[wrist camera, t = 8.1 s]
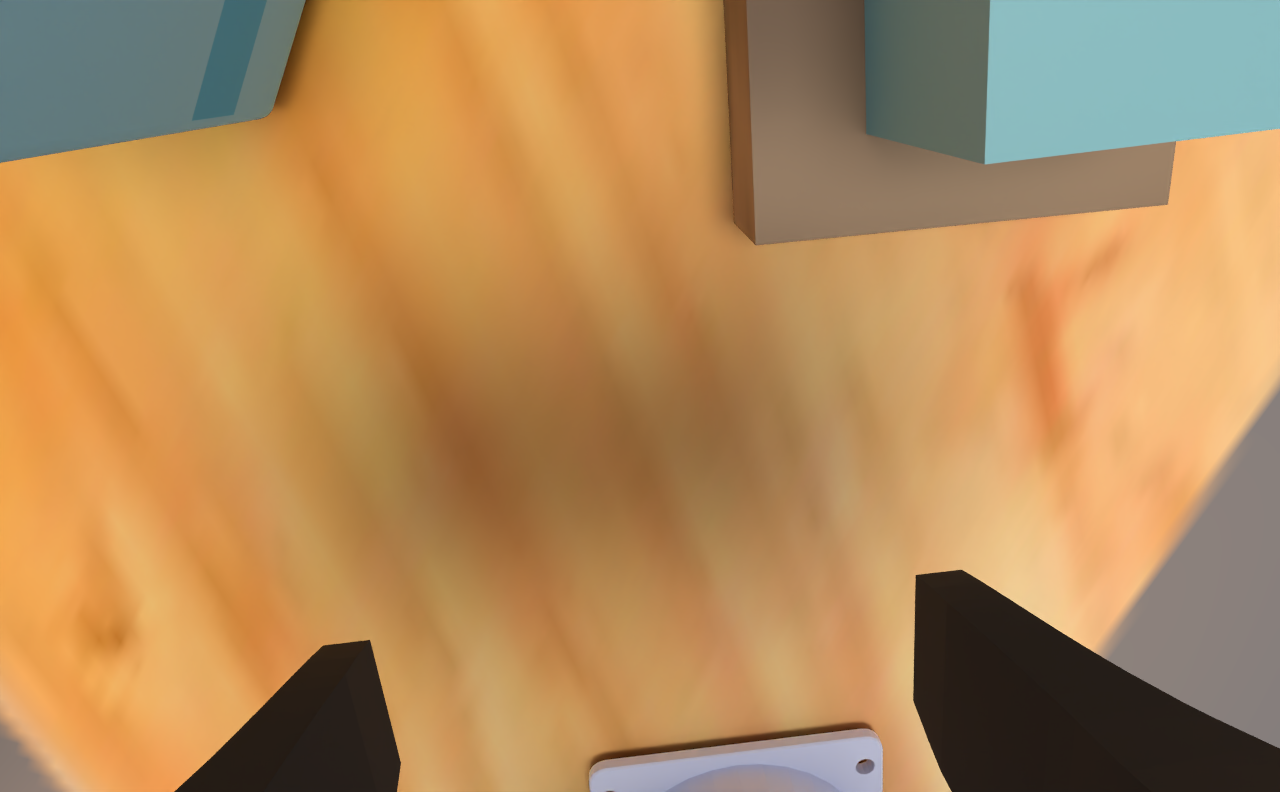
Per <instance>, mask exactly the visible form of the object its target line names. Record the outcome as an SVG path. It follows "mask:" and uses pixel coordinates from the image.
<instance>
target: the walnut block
mask: <svg viewBox="0 0 1280 792" xmlns="http://www.w3.org/2000/svg"><path fill="white" fill-rule="evenodd" d="M724 21H725V42H726V63H727V84H728V105H729V126H730V147H731V169H732V190H733V211H734V223H735V224H736V225H737V226H738V227H739V228H740V229H741V230H742V231H743V232H744V233H745V235H746V236H747V237H748V238H749V239H750V240H751V241H752V242H753V243H754V244H755V245H764V244H774V243H784V242H794V241H804V240H814V239H824V238H835V237H845V236H855V235H865V234H875V233H885V232H895V231H906V230H916V229H926V228H936V227H946V226H956V225H966V224H977V223H987V222H997V221H1007V220H1017V219H1027V218H1037V217H1048V216H1058V215H1068V214H1078V213H1088V212H1098V211H1108V210H1119V209H1129V208H1139V207H1149V206H1159V205H1168V199H1169V191H1170V184H1171V176H1172V168H1173V161H1174V153H1175V145H1176V141H1174V142H1165V143H1157V144H1149V145H1141V146H1133V147H1124V148H1116V149H1108V150H1100V151H1092V152H1083V153H1075V154H1067V155H1059V156H1050V157H1042V158H1034V159H1026V160H1018V161H1009V162H1001V163H993V164H981V163H977V162H973V161H969V160H965V159H961V158H957V157H954V156H950V155H946V154H942V153H938V152H934V151H930V150H926V149H922V148H919V147H915V146H911V145H907V144H903V143H899V142H895V141H891V140H887V139H884V138H880V137H876V136H872V135H868V134H866V76H865V7H864V0H724Z"/></svg>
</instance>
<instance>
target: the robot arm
mask: <svg viewBox="0 0 1280 792" xmlns="http://www.w3.org/2000/svg"><path fill="white" fill-rule="evenodd" d="M913 701H914V704H915V706H916V709H917V711H918V714H919V717H920V719H921V722H922V725H923V727H924V730H925V733H926V735H927V738H928V741H929V743H930V745H931V748H932V750H933V753H934V755H935V758H936V760H937V763H938V765H939V768H940V770H941V772H942V774H943V776H944V778H945V780H946V782H947V784H948V786H949V788H950V789H951V791H952V792H1280V748H1277V747H1275V746H1273V745H1271V744H1269V743H1266V742H1264V741H1262V740H1260V739H1258V738H1256V737H1254V736H1251V735H1249V734H1247V733H1245V732H1243V731H1241V730H1239V729H1237V728H1234V727H1232V726H1230V725H1228V724H1226V723H1224V722H1222V721H1219V720H1217V719H1215V718H1213V717H1211V716H1209V715H1207V714H1205V713H1203V712H1201V711H1199V710H1197V709H1195V708H1193V707H1191V706H1189V705H1187V704H1185V703H1183V702H1181V701H1180V700H1178V699H1176V698H1174V697H1172V696H1170V695H1169V694H1167V693H1165V692H1163V691H1161V690H1159V689H1158V688H1156V687H1154V686H1152V685H1150V684H1148V683H1147V682H1145V681H1143V680H1141V679H1139V678H1137V677H1136V676H1134V675H1132V674H1130V673H1128V672H1127V671H1125V670H1123V669H1121V668H1120V667H1118V666H1116V665H1115V664H1113V663H1111V662H1109V661H1108V660H1106V659H1104V658H1103V657H1101V656H1099V655H1098V654H1096V653H1094V652H1093V651H1091V650H1089V649H1088V648H1086V647H1084V646H1083V645H1081V644H1079V643H1078V642H1076V641H1074V640H1073V639H1071V638H1070V637H1068V636H1066V635H1065V634H1063V633H1062V632H1060V631H1058V630H1057V629H1055V628H1054V627H1052V626H1050V625H1049V624H1047V623H1046V622H1044V621H1042V620H1041V619H1039V618H1038V617H1036V616H1035V615H1033V614H1032V613H1030V612H1028V611H1027V610H1025V609H1024V608H1022V607H1021V606H1019V605H1017V604H1016V603H1014V602H1013V601H1011V600H1010V599H1008V598H1007V597H1005V596H1003V595H1002V594H1000V593H999V592H997V591H996V590H994V589H992V588H991V587H989V586H988V585H986V584H985V583H983V582H981V581H980V580H978V579H976V578H975V577H973V576H971V575H970V574H968V573H966V572H964V571H963V570H956V571H947V572H939V573H930V574H922V575H916V590H915V641H914V693H913ZM864 759H868V760H867V761H866V762H864V763H858V762H859V761H861V760H864ZM400 765H401V762H400V758H399V754H398V750H397V746H396V742H395V738H394V734H393V730H392V726H391V722H390V718H389V714H388V710H387V706H386V702H385V698H384V694H383V690H382V686H381V682H380V678H379V674H378V670H377V666H376V662H375V658H374V654H373V650H372V646H371V642H370V640H367V641H358V642H350V643H342V644H333V645H325V646H322V647H321V648H320V649H319V650H318V651H317V652H316V653H315V654H314V655H313V656H312V657H311V658H310V659H309V660H308V661H307V662H306V663H305V664H304V665H303V666H302V667H301V668H300V669H299V670H298V671H297V672H296V673H295V674H294V675H293V676H292V677H291V678H290V679H289V680H288V681H287V682H286V683H285V684H284V685H283V686H282V687H281V688H280V689H279V690H278V691H277V692H276V693H275V694H274V695H273V696H272V697H271V698H270V699H269V700H268V701H267V702H266V703H265V705H264V706H263V707H262V708H261V709H260V710H259V711H258V712H257V713H256V714H255V715H254V716H253V717H252V718H251V719H250V720H249V721H248V722H247V723H246V724H245V725H244V726H243V727H242V728H241V729H240V730H239V731H238V732H237V733H236V734H235V735H234V736H233V737H232V738H231V739H230V740H229V741H228V742H227V743H226V744H225V745H224V746H223V747H222V748H221V749H220V750H219V751H218V752H217V753H216V754H215V755H214V756H213V757H211V758H210V759H209V760H208V761H207V762H206V763H205V764H204V765H203V766H202V767H201V768H200V769H199V770H197V771H196V772H195V773H194V774H193V775H192V776H191V777H190V778H189V779H188V780H187V781H186V782H184V783H183V784H182V785H181V786H180V787H179V788H178V789H177V790H176V791H175V792H397V787H398V780H399V773H400ZM589 788H590V792H606V791H614V792H883V748H882V744H881V741H880V739H879V737H878V735H877V734H876V733H875V732H874V731H872V730H870V729H853V730H845V731H837V732H829V733H821V734H813V735H805V736H796V737H788V738H780V739H772V740H764V741H756V742H748V743H739V744H731V745H723V746H715V747H707V748H699V749H691V750H682V751H674V752H666V753H658V754H650V755H642V756H634V757H625V758H617V759H609V760H603V761H600V762H598V763H596V764H595V765H593V766H592V768H591V769H590V771H589Z"/></svg>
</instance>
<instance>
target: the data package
mask: <svg viewBox="0 0 1280 792" xmlns="http://www.w3.org/2000/svg"><path fill="white" fill-rule="evenodd" d="M305 1H306V0H0V163H1V162H7V161H13V160H19V159H25V158H31V157H37V156H43V155H49V154H55V153H61V152H67V151H73V150H79V149H84V148H90V147H96V146H102V145H108V144H114V143H120V142H126V141H132V140H138V139H144V138H150V137H156V136H162V135H168V134H174V133H180V132H186V131H191V130H197V129H203V128H209V127H215V126H221V125H227V124H233V123H239V122H245V121H251V120H257V119H261V118H264V117H266V116H267V115H268V114H269V113H270V112H271V111H272V109H273V107H274V103H275V100H276V97H277V93H278V90H279V87H280V84H281V80H282V77H283V74H284V70H285V67H286V64H287V61H288V57H289V54H290V51H291V47H292V44H293V41H294V37H295V34H296V31H297V28H298V24H299V21H300V18H301V14H302V11H303V8H304V4H305Z"/></svg>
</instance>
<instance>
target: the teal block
mask: <svg viewBox="0 0 1280 792" xmlns="http://www.w3.org/2000/svg"><path fill="white" fill-rule="evenodd" d="M864 7H865V76H866V134H868V135H872V136H876V137H880V138H884V139H887V140H891V141H895V142H899V143H903V144H907V145H911V146H915V147H919V148H922V149H926V150H930V151H934V152H938V153H942V154H946V155H950V156H954V157H957V158H961V159H965V160H969V161H973V162H977V163H981V164H993V163H1001V162H1009V161H1018V160H1026V159H1034V158H1042V157H1050V156H1059V155H1067V154H1075V153H1083V152H1092V151H1100V150H1108V149H1116V148H1124V147H1133V146H1141V145H1149V144H1157V143H1165V142H1174V141H1182V140H1190V139H1198V138H1207V137H1215V136H1223V135H1231V134H1239V133H1248V132H1256V131H1264V130H1272V129H1280V0H864Z"/></svg>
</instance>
